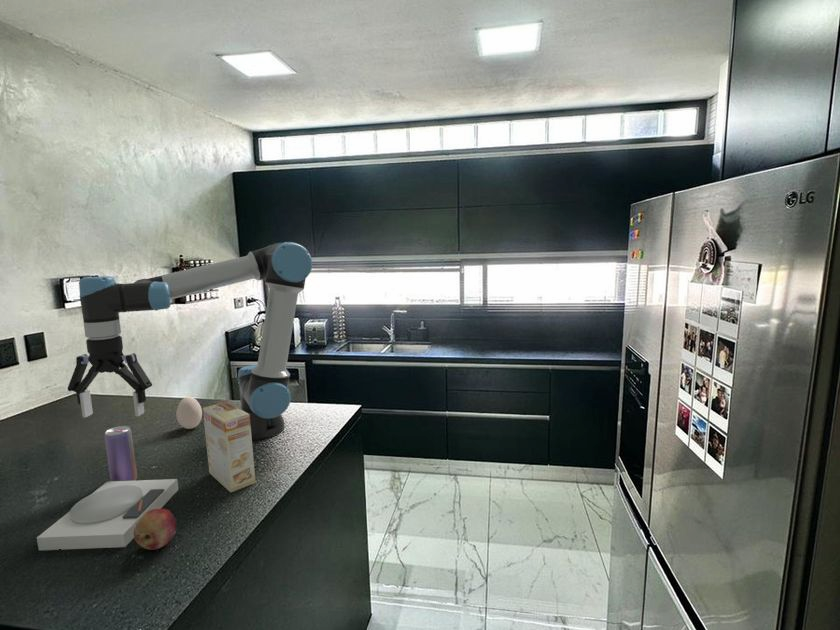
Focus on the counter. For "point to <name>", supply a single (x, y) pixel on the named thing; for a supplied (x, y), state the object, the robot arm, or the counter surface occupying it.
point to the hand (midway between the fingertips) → (114, 415)
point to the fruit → (155, 529)
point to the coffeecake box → (229, 445)
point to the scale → (107, 515)
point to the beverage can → (120, 454)
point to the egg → (189, 413)
